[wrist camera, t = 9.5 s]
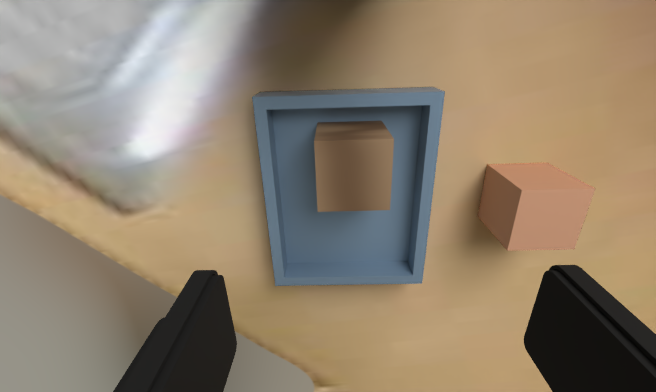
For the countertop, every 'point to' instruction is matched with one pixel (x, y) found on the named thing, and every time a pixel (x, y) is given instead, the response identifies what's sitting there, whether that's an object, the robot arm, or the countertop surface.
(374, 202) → the walnut block
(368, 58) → the countertop surface
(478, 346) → the countertop surface
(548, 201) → the terracotta block
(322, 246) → the tray
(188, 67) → the countertop surface
